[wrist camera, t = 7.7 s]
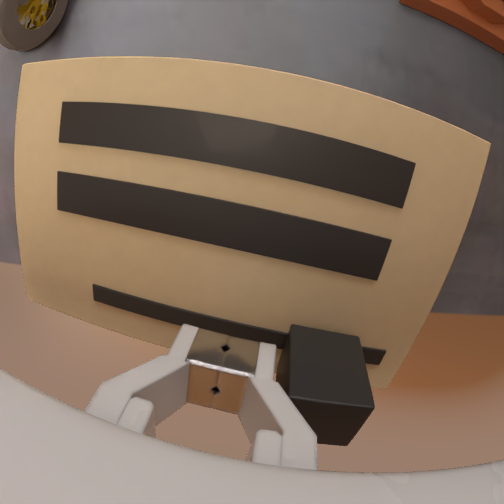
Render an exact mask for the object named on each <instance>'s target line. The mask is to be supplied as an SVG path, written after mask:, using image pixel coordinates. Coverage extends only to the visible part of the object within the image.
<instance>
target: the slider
mask: <svg viewBox="0 0 504 504" xmlns="http://www.w3.org/2000/svg"><path fill="white" fill-rule="evenodd" d="M276 382H278V383H279V384H280V386H281V387H282V388H283V390H284V391H285V393H286V394H287V395H288V397H289V398H290V400H291V401H292V402H293V404H294V405H295V407H296V408H297V409H298V411H299V412H300V414H301V415H302V416H303V418H304V419H305V420H306V422H307V423H308V425H309V426H310V427H311V429H312V430H313V431H314V433H315V434H316V435H317V443H318V444H328V445H339V446H347V445H348V444H349V443H350V441H351V440H352V439H353V438H354V436H355V435H356V434H357V432H358V431H359V430H360V428H361V427H362V425H363V424H364V423H365V421H366V420H367V418H368V417H369V416H370V414H371V412H372V411H373V410H374V407H375V406H374V401H373V396H372V391H371V386H370V382H369V377H368V372H367V368H366V364H365V359H364V355H363V351H362V347H361V342H360V338H359V337H358V336H354V335H348V334H342V333H337V332H331V331H326V330H321V329H315V328H310V327H305V326H300V325H295V324H292V325H291V326H290V329H289V332H288V335H287V338H286V341H285V344H284V347H283V350H282V353H281V356H280V359H279V362H278V365H277V374H276Z"/></svg>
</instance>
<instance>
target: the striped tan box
mask: <svg viewBox="0 0 504 504" xmlns="http://www.w3.org/2000/svg"><path fill="white" fill-rule="evenodd" d="M490 146H491V144H490V143H489V142H487V141H485V140H483V139H481V138H479V137H477V136H475V135H473V134H471V133H469V132H467V131H465V130H463V129H460V128H458V127H456V126H454V125H452V124H449V123H447V122H445V121H442V120H440V119H438V118H435V117H433V116H430V115H428V114H425V113H423V112H420V111H418V110H415V109H412V108H410V107H407V106H404V105H401V104H399V103H396V102H393V101H390V100H387V99H384V98H381V97H378V96H375V95H372V94H369V93H365V92H362V91H359V90H355V89H352V88H348V87H345V86H341V85H338V84H334V83H330V82H326V81H322V80H318V79H314V78H310V77H305V76H301V75H296V74H291V73H286V72H281V71H276V70H271V69H265V68H259V67H253V66H247V65H240V64H233V63H225V62H217V61H208V60H197V59H185V58H170V57H144V56H111V57H86V58H71V59H59V60H50V61H41V62H33V63H26V64H23V66H22V72H21V79H20V86H19V94H18V104H17V115H16V129H15V157H14V176H15V204H16V218H17V230H18V240H19V248H20V256H21V263H22V269H23V276H24V281H25V287H26V293H27V297H28V299H29V300H32V301H34V302H36V303H39V304H41V305H44V306H46V307H49V308H51V309H54V310H56V311H59V312H62V313H64V314H67V315H69V316H72V317H75V318H77V319H80V320H83V321H86V322H88V323H92V324H94V325H97V326H100V327H103V328H106V329H109V330H112V331H115V332H118V333H121V334H124V335H127V336H130V337H133V338H137V339H140V340H143V341H146V342H150V343H153V344H156V345H160V346H164V347H167V348H171V346H172V344H173V342H174V340H175V338H176V336H177V334H178V332H179V330H180V328H181V326H182V325H183V324H188V325H191V326H195V327H198V328H203V329H207V330H210V331H214V332H218V333H222V334H226V335H230V336H234V337H238V338H243V339H247V340H252V341H257V342H264V343H269V344H275V345H276V358H275V370H274V373H277V365H278V362H279V359H280V356H281V353H282V350H283V347H284V344H285V341H286V338H287V335H288V332H289V329H290V326H291V325H292V324H295V325H300V326H305V327H310V328H315V329H321V330H326V331H331V332H337V333H342V334H348V335H354V336H358V337H359V338H360V342H361V347H362V351H363V355H364V359H365V364H366V368H367V372H368V377H369V382H370V386H371V388H379V389H386V388H387V387H388V385H389V384H390V382H391V381H392V379H393V377H394V376H395V374H396V373H397V371H398V369H399V368H400V366H401V364H402V362H403V361H404V359H405V357H406V356H407V354H408V352H409V350H410V349H411V347H412V345H413V343H414V341H415V339H416V338H417V336H418V334H419V332H420V330H421V328H422V327H423V325H424V323H425V321H426V319H427V317H428V315H429V313H430V311H431V309H432V307H433V305H434V303H435V301H436V298H437V296H438V294H439V292H440V290H441V288H442V285H443V283H444V281H445V279H446V276H447V274H448V272H449V270H450V267H451V265H452V262H453V260H454V258H455V255H456V253H457V250H458V248H459V245H460V242H461V240H462V237H463V235H464V232H465V229H466V226H467V224H468V221H469V218H470V215H471V212H472V209H473V206H474V203H475V200H476V197H477V193H478V190H479V187H480V183H481V180H482V176H483V173H484V169H485V166H486V162H487V158H488V154H489V150H490Z"/></svg>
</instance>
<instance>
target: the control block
mask: <svg viewBox="0 0 504 504" xmlns="http://www.w3.org/2000/svg"><path fill="white" fill-rule="evenodd" d="M400 3H401V4H404V5H406V6H409V7H412V8H414V9H416V10H419V11H421V12H424V13H426V14H428V15H431V16H433V17H435V18H437V19H439V20H442V21H444V22H446V23H448V24H450V25H452V26H454V27H456V28H458V29H460V30H462V31H464V32H466V33H468V34H469V35H471V36H473V37H475V38H477V39H479V40H480V41H482V42H484V43H486V44H487V45H489V46H491V47H492V48H494V49H496V50H497V51H499V52H500V53H502V54H504V0H400Z"/></svg>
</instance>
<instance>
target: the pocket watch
mask: <svg viewBox="0 0 504 504" xmlns="http://www.w3.org/2000/svg"><path fill="white" fill-rule="evenodd" d="M67 3H68V0H0V43H1V44H2V45H3V46H4V47H6V48H8V49H11V50H17V51H27V50H31V49H33V48H35V47H37V46H38V45H40V44H41V43H42V42H44V41H45V40H46V39H47V38H48V37H49V36H50V35H51V34H52V33H53V31H54V30H55V29H56V27H57V26H58V24H59V23H60V21H61V19H62V17H63V15H64V12H65V10H66V7H67Z"/></svg>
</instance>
